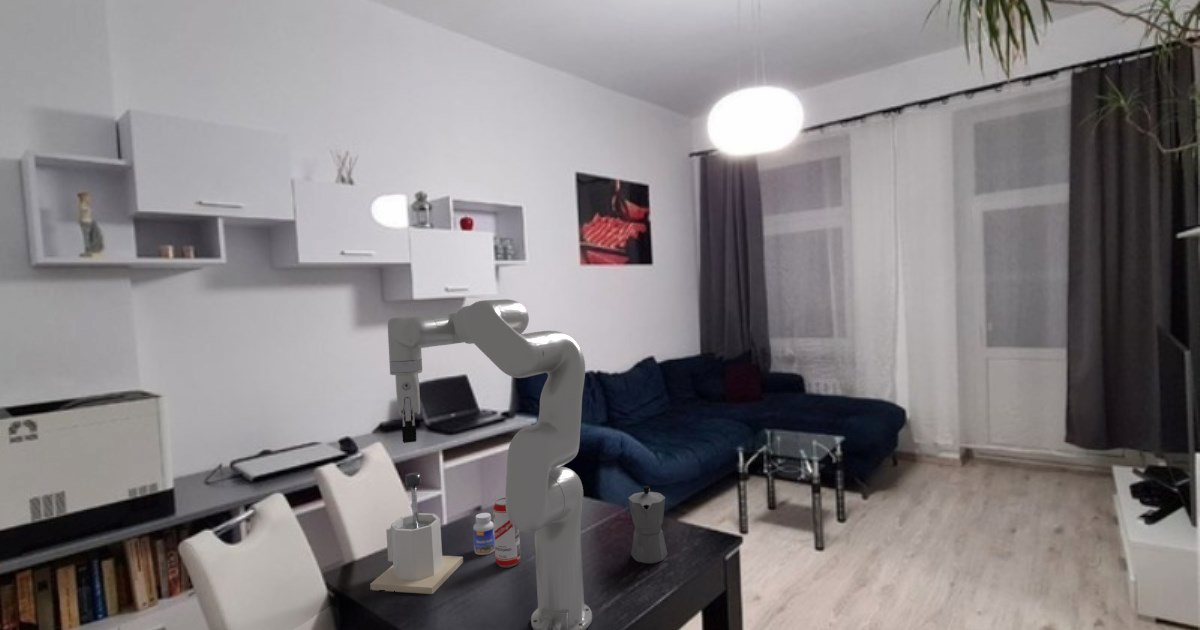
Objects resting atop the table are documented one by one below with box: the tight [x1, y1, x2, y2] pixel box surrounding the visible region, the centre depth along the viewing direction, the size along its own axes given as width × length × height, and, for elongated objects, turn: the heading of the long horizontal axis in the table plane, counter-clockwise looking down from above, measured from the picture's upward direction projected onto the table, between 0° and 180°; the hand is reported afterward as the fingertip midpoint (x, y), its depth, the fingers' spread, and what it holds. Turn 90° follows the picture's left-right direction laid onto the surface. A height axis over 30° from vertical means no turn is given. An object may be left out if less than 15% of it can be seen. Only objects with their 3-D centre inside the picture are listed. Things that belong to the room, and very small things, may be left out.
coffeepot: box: [627, 485, 668, 564], centre depth 149 cm, size 15×9×18 cm, turn 174°
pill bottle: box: [473, 512, 495, 556], centre depth 156 cm, size 5×5×10 cm
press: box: [369, 512, 464, 595], centre depth 143 cm, size 16×16×14 cm
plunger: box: [400, 471, 431, 529], centre depth 143 cm, size 8×8×14 cm
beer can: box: [492, 497, 522, 568], centre depth 148 cm, size 6×6×16 cm
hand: (409, 441), depth 143 cm, fingers closed
